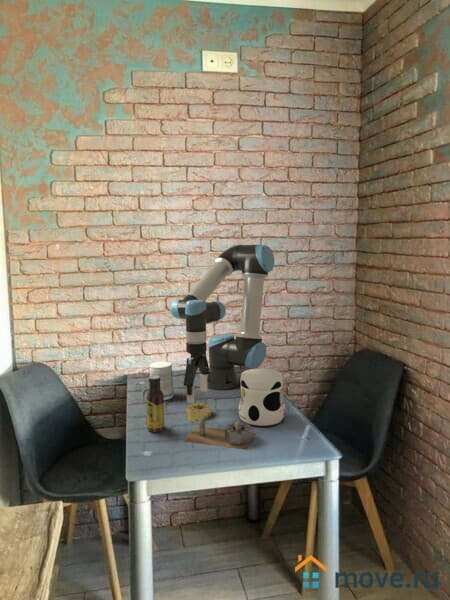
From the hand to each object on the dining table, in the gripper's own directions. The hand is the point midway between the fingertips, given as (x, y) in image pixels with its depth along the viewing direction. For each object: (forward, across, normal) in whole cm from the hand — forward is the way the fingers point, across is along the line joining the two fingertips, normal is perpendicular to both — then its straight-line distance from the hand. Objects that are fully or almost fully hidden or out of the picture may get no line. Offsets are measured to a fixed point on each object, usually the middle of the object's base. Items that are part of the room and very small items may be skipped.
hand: (197, 396), depth 172 cm
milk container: (+8, -4, +24) cm, 26 cm away
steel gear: (+8, +15, +21) cm, 27 cm away
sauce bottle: (+9, +13, -11) cm, 19 cm away
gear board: (+9, +15, +14) cm, 23 cm away
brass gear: (+8, -1, 0) cm, 8 cm away
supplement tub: (+8, -17, -23) cm, 29 cm away
